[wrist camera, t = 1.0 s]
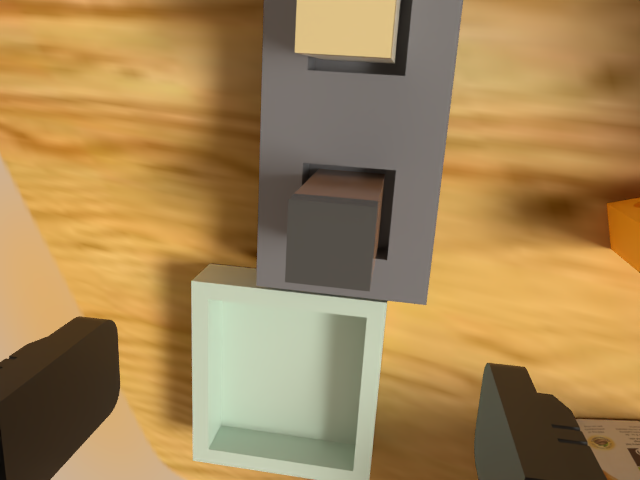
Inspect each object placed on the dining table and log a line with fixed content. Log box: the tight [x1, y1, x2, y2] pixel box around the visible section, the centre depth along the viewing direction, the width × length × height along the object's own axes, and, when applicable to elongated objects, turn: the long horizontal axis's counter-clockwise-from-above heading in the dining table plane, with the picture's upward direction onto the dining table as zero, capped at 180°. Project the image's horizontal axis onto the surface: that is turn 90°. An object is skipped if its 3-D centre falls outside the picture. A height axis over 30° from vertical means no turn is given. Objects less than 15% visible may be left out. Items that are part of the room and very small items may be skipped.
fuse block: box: [256, 0, 463, 305], centre depth 28 cm, size 18×9×4 cm, turn 177°
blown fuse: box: [285, 169, 385, 292], centre depth 26 cm, size 4×4×8 cm
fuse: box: [295, 0, 401, 64], centre depth 23 cm, size 4×4×8 cm
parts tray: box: [191, 264, 387, 480], centre depth 34 cm, size 12×11×3 cm
